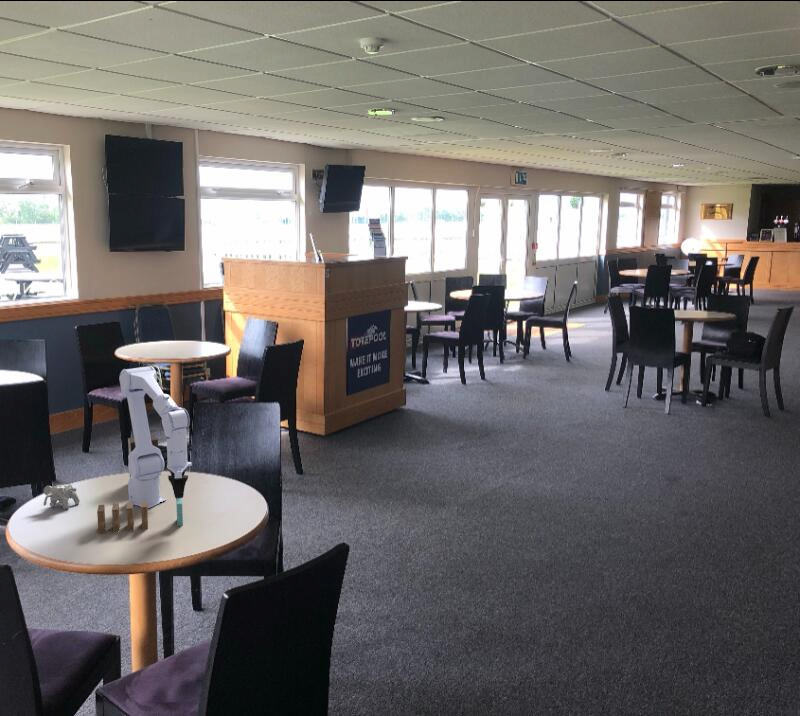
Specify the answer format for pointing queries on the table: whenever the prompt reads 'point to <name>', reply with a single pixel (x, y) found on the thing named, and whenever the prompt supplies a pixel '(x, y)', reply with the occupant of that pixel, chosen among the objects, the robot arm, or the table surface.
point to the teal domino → (179, 511)
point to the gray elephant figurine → (61, 495)
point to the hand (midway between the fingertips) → (178, 493)
